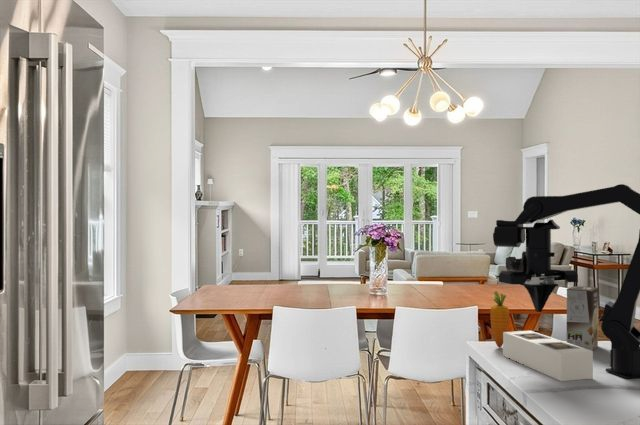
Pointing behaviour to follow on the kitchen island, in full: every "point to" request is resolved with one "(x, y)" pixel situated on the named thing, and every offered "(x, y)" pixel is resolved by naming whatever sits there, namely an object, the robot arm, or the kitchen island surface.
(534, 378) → the kitchen island surface
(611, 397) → the kitchen island surface
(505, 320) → the carrot
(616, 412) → the kitchen island surface
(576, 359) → the white peg holder block
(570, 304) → the coffee box
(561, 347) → the peg near
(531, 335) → the peg far
